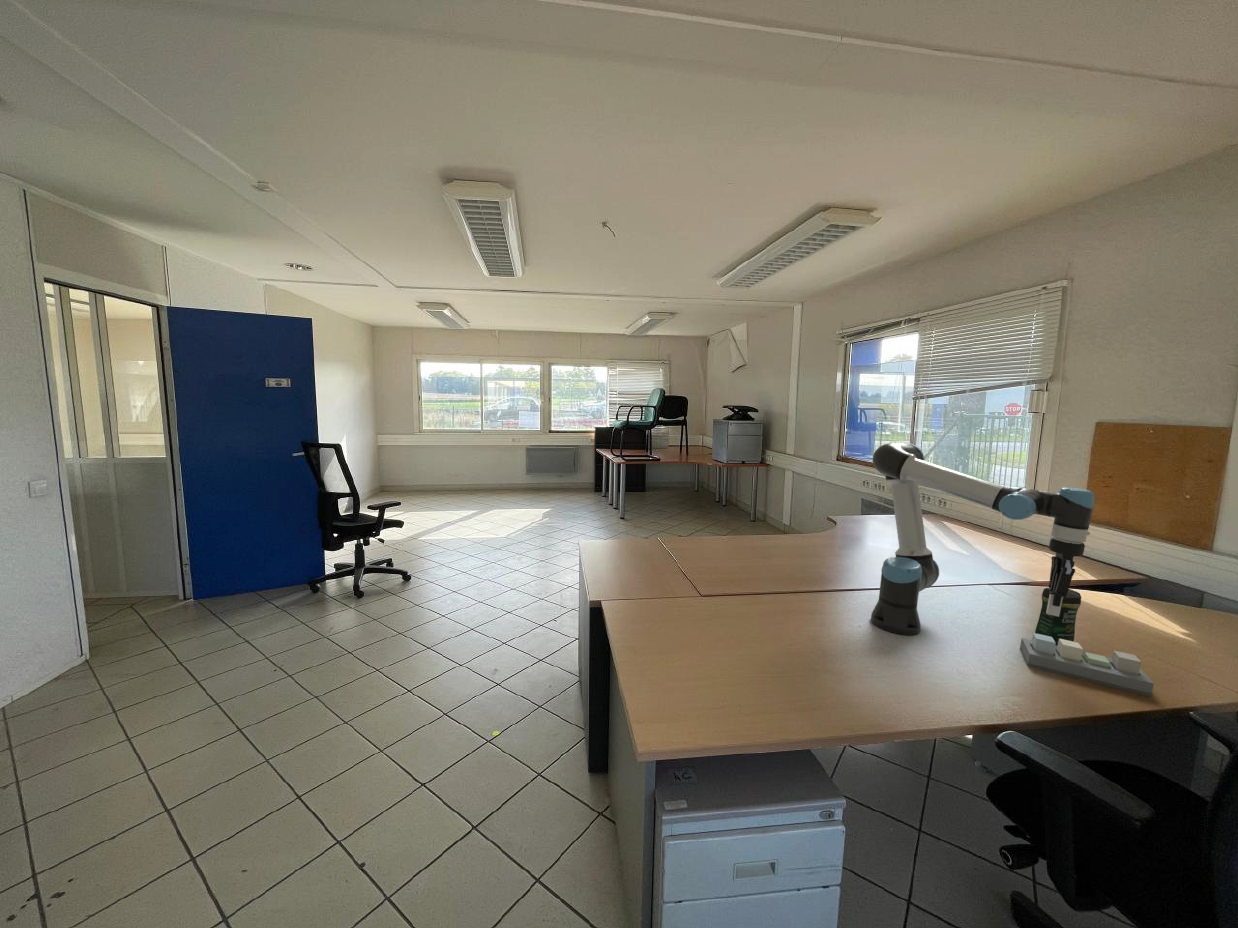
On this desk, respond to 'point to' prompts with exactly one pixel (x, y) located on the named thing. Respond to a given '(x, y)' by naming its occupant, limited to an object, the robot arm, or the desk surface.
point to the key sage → (1096, 659)
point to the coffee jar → (1065, 622)
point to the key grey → (1126, 662)
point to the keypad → (1086, 670)
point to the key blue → (1043, 643)
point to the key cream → (1069, 649)
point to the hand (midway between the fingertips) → (1052, 614)
